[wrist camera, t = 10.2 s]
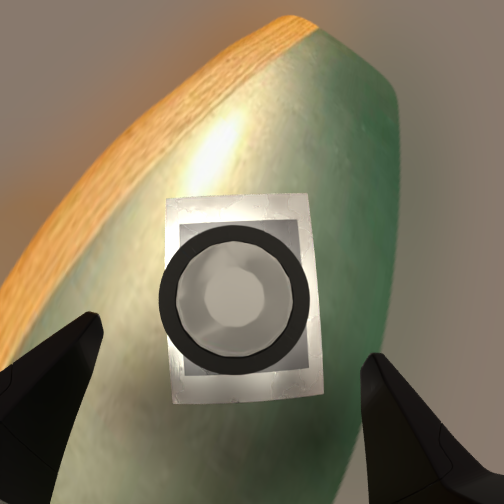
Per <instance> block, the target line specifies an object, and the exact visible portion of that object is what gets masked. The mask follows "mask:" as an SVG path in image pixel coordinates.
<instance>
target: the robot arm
mask: <svg viewBox="0 0 504 504" xmlns="http://www.w3.org/2000/svg"><path fill="white" fill-rule="evenodd" d="M103 334H104V331H103V327H102V323H101V319H100V315H99V314H98V313H94V312H90V311H88V312H85V313H84V314H82V315H81V316H79V317H78V318H77V319H75V320H74V321H72V322H71V323H69V324H68V325H66V326H65V327H63V328H62V329H60V330H59V331H58V332H56V333H55V334H53V335H52V336H50V337H49V338H47V339H46V340H45V341H43V342H42V343H40V344H39V345H37V346H36V347H35V348H33V349H32V350H30V351H29V352H28V353H26V354H25V355H23V356H22V357H21V358H19V359H18V360H16V361H15V362H14V363H13V365H12V364H11V365H9V366H8V367H7V368H5V369H4V370H3V371H1V372H0V504H50V501H51V497H52V493H53V490H54V486H55V482H56V479H57V475H58V471H59V468H60V464H61V461H62V458H63V455H64V451H65V448H66V445H67V442H68V439H69V436H70V433H71V430H72V427H73V424H74V422H75V419H76V416H77V413H78V410H79V408H80V405H81V402H82V400H83V397H84V394H85V392H86V389H87V387H88V384H89V381H90V379H91V376H92V373H93V370H94V366H95V363H96V359H97V356H98V352H99V349H100V346H101V342H102V339H103ZM360 381H361V415H362V424H363V433H364V442H365V453H366V463H367V476H368V491H369V504H504V475H500V474H496V473H492V472H490V471H489V470H487V469H485V468H484V467H483V466H482V465H481V464H480V463H479V462H478V461H477V460H476V459H475V458H474V457H473V456H472V455H471V454H470V453H469V452H468V451H467V450H466V449H465V448H464V447H463V446H462V445H461V444H460V443H459V442H458V441H457V440H456V439H455V438H454V436H453V435H452V434H451V433H450V432H449V431H448V429H447V428H446V427H445V426H444V425H443V423H441V421H440V420H439V419H438V418H437V416H436V415H435V414H434V413H433V412H432V410H431V409H430V408H429V407H428V406H427V404H426V403H425V402H424V401H423V400H422V398H421V397H420V396H419V395H418V394H417V393H416V392H415V390H414V389H413V388H412V387H411V386H410V385H409V383H408V382H407V381H406V380H405V378H404V377H403V376H402V375H401V374H400V373H399V372H398V370H397V369H396V368H395V367H394V366H393V365H392V363H390V361H389V360H388V359H387V358H386V357H385V355H384V354H382V353H371V354H370V355H369V356H368V358H367V359H366V361H365V362H364V364H363V366H362V368H361V371H360Z"/></svg>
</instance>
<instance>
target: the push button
mask: <svg viewBox="0 0 504 504" xmlns="http://www.w3.org/2000/svg"><path fill="white" fill-rule="evenodd" d="M309 310H310V291H309V285H308V281H307V278H306V274H305V272H304V270H303V268H302V266H301V264H300V262H299V260H298V259H297V258H296V256H295V255H294V253H293V252H292V251H291V250H290V249H289V248H288V247H287V246H286V245H285V244H284V243H283V242H281V241H280V240H279V239H277V238H276V237H274V236H273V235H271V234H269V233H267V232H265V231H263V230H260V229H257V228H253V227H249V226H243V225H225V226H219V227H215V228H211V229H208V230H206V231H203V232H201V233H199V234H197V235H195V236H194V237H192V238H191V239H189V240H188V241H187V242H186V243H184V244H183V245H182V246H181V247H180V248H179V249H178V250H177V251H176V253H175V254H174V255H173V257H172V258H171V260H170V261H169V263H168V265H167V267H166V269H165V271H164V273H163V276H162V279H161V284H160V289H159V311H160V316H161V320H162V323H163V326H164V329H165V331H166V333H167V335H168V337H169V339H170V340H171V342H172V343H173V344H174V346H175V347H176V348H177V349H178V351H179V352H180V353H181V354H182V355H183V356H185V357H186V358H187V359H188V360H190V361H191V362H192V363H194V364H196V365H197V366H199V367H201V368H203V369H206V370H208V371H211V372H214V373H218V374H224V375H246V374H251V373H255V372H259V371H261V370H264V369H266V368H268V367H270V366H272V365H274V364H275V363H277V362H278V361H280V360H281V359H282V358H284V357H285V356H286V355H287V354H288V353H289V352H290V351H291V350H292V349H293V347H294V346H295V345H296V344H297V342H298V340H299V339H300V337H301V335H302V333H303V331H304V329H305V326H306V323H307V320H308V316H309Z"/></svg>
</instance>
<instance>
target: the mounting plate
mask: <svg viewBox="0 0 504 504" xmlns="http://www.w3.org/2000/svg"><path fill="white" fill-rule="evenodd" d="M225 225H243V226H249V227H253V228H257V229H260V230H263V231H265V232H267V233H269V234H271V235H273V236H274V237H276V238H277V239H279V240H280V241H281V242H283V243H284V244H285V245H286V246H287V247H288V248H289V249H290V250H291V251H292V252H293V253H294V255H295V256H296V258H297V259H298V260H299V262H300V264H301V266H302V268H303V270H304V272H305V274H306V278H307V281H308V285H309V291H310V310H309V316H308V320H307V323H306V326H305V329H304V331H303V333H302V335H301V337H300V339H299V340H298V342H297V344H296V345H295V346H294V347H293V349H292V350H291V351H290V352H289V353H288V354H287V355H286V356H285V357H284V358H282V359H281V360H280V361H278V362H277V363H275V364H274V365H272V366H270V367H268V368H266V369H264V370H261V371H259V372H255V373H251V374H246V375H224V374H218V373H214V372H211V371H208V370H206V369H203V368H201V367H199V366H197V365H196V364H194V363H192V362H191V361H190V360H188V359H187V358H186V357H185V356H183V355H182V354H181V353H180V352H179V351H178V349H177V348H176V347H175V346H174V344H173V343H172V342H171V340H170V339H169V337H168V335H167V338H168V354H169V368H170V380H171V391H172V401H173V404H221V403H242V402H257V401H269V400H279V399H289V398H297V397H305V396H313V395H320V394H324V383H323V360H322V342H321V326H320V311H319V299H318V286H317V275H316V265H315V255H314V245H313V236H312V227H311V218H310V210H309V202H308V194H307V193H287V194H246V195H221V196H200V197H183V198H168V199H166V219H165V269H166V267H167V265H168V263H169V261H170V260H171V258H172V257H173V255H174V254H175V253H176V251H177V250H178V249H179V248H180V247H181V246H182V245H183V244H184V243H186V242H187V241H188V240H189V239H191V238H192V237H194V236H195V235H197V234H199V233H201V232H203V231H206V230H208V229H211V228H215V227H219V226H225Z"/></svg>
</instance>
